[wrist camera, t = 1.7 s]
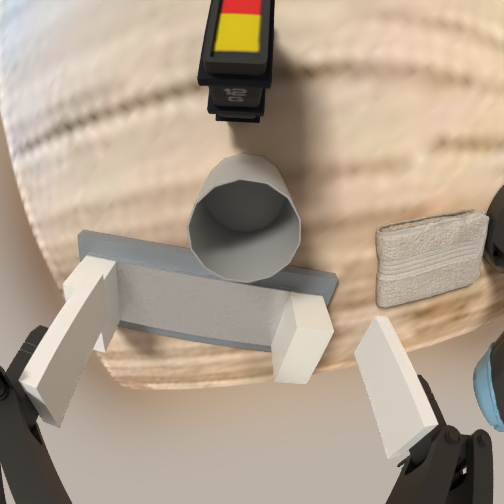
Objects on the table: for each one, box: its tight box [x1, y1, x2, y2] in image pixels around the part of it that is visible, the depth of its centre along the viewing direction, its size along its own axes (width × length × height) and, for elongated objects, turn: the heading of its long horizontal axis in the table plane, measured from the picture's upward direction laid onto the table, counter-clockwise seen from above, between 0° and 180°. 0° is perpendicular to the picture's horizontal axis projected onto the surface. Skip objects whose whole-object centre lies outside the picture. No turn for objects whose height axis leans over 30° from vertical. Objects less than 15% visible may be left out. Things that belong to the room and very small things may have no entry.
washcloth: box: [376, 209, 489, 308], centre depth 34 cm, size 12×18×3 cm, turn 103°
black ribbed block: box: [197, 0, 275, 123], centre depth 19 cm, size 4×13×15 cm, turn 176°
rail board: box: [78, 230, 338, 352], centre depth 36 cm, size 31×13×2 cm, turn 78°
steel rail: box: [87, 252, 322, 346], centre depth 35 cm, size 28×9×1 cm, turn 78°
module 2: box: [271, 292, 334, 384], centre depth 33 cm, size 4×9×6 cm, turn 168°
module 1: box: [63, 255, 120, 353], centre depth 31 cm, size 4×9×6 cm, turn 168°
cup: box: [187, 153, 301, 283], centre depth 26 cm, size 8×8×10 cm
